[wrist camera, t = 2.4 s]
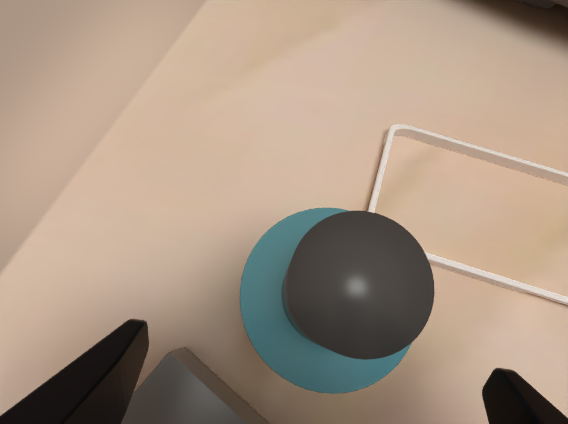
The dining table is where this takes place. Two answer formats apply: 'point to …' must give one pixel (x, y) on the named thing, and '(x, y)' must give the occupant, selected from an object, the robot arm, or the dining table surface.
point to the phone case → (482, 155)
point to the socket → (187, 396)
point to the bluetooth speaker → (545, 3)
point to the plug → (335, 298)
